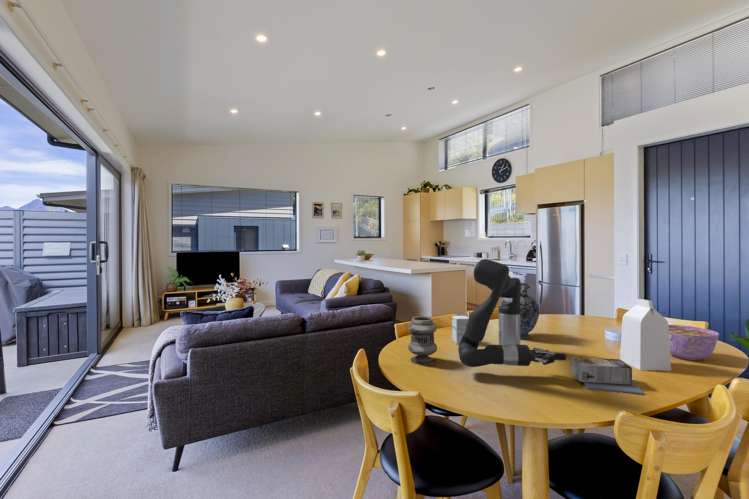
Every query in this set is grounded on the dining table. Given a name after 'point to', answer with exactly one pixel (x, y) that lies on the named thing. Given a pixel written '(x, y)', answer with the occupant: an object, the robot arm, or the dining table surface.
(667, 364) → the milk
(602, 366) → the coffee box
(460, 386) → the dining table surface
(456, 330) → the supplement box
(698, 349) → the bowl of food
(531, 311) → the decorative vase
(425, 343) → the apothecary jar
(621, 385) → the grey mat
